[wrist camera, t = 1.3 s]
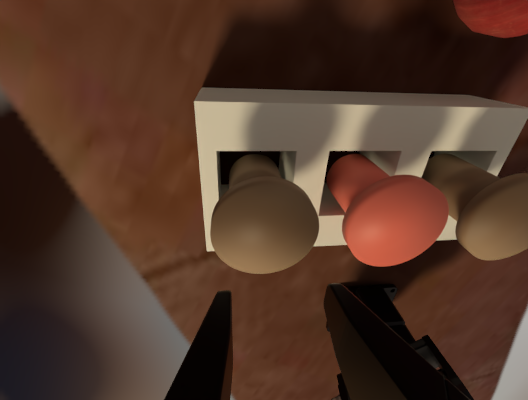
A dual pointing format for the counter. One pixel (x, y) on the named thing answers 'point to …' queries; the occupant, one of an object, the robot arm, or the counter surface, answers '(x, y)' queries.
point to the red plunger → (385, 211)
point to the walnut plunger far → (482, 206)
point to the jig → (348, 138)
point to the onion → (494, 16)
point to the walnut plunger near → (262, 219)
